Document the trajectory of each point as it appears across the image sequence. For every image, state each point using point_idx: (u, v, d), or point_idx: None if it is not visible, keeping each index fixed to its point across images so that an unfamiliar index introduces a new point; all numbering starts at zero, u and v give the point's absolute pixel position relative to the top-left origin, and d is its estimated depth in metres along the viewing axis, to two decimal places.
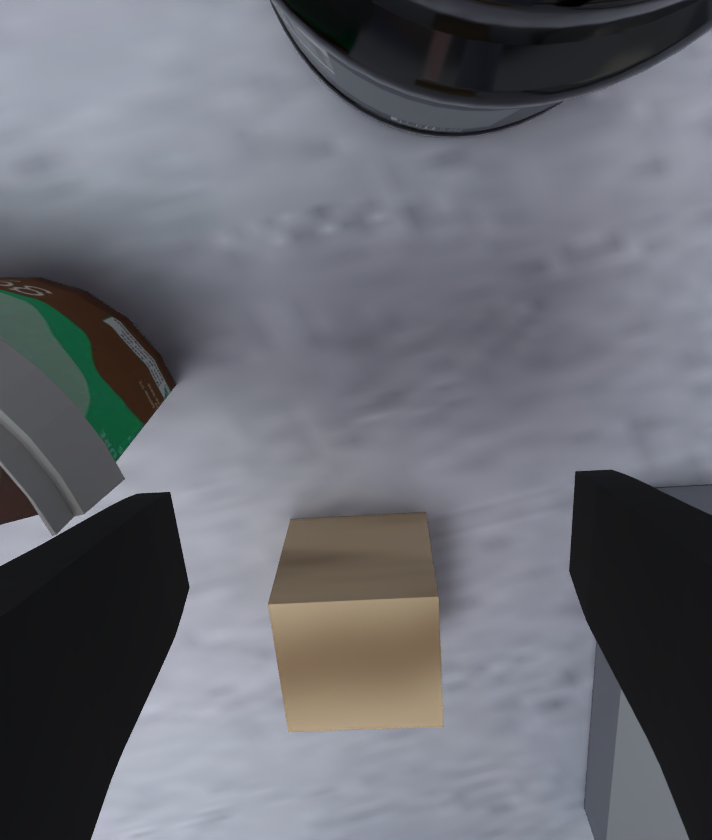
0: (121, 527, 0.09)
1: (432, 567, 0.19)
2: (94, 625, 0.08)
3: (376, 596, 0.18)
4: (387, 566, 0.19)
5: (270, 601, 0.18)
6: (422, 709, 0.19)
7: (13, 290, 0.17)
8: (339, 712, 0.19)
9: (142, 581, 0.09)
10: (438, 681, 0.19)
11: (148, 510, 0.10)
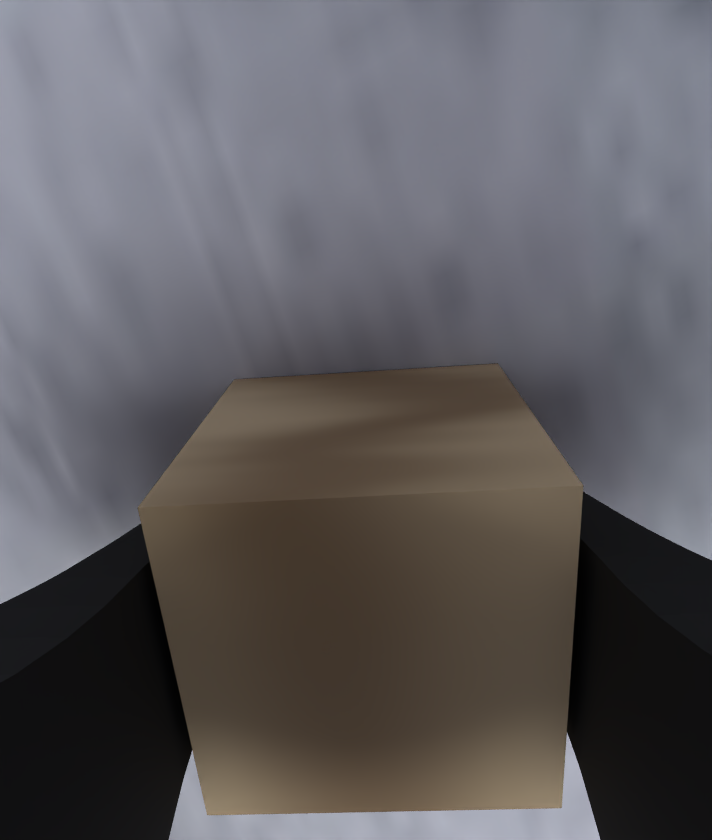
0: None
1: None
2: None
3: (169, 629, 0.08)
4: None
5: (208, 803, 0.09)
6: (511, 539, 0.07)
7: None
8: (509, 714, 0.08)
9: None
10: (414, 502, 0.07)
11: None
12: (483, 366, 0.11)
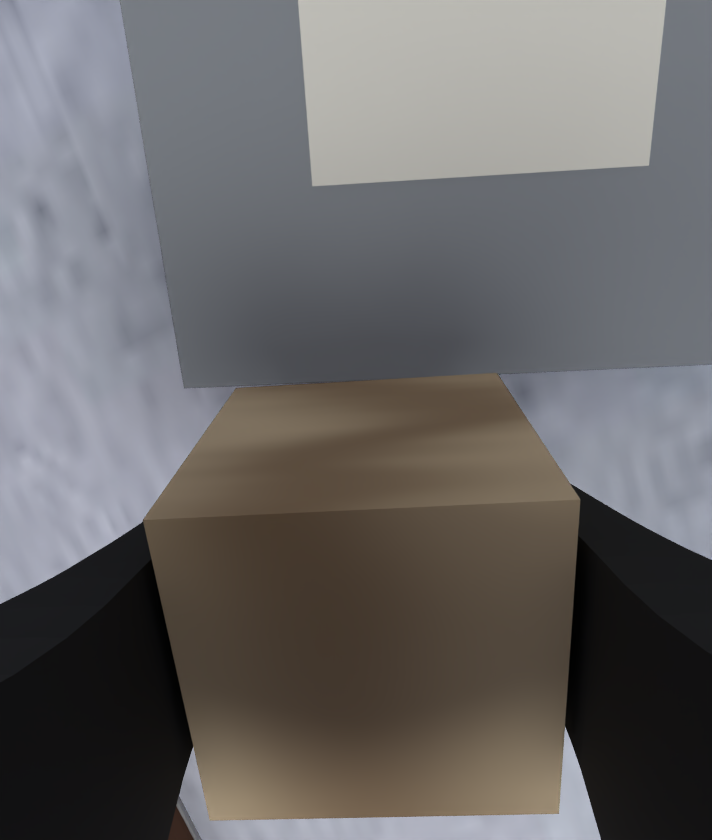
0: None
1: (180, 470, 0.08)
2: None
3: (173, 638, 0.08)
4: None
5: (211, 808, 0.09)
6: (510, 551, 0.07)
7: None
8: (507, 722, 0.08)
9: None
10: (414, 515, 0.07)
11: None
12: (482, 375, 0.11)
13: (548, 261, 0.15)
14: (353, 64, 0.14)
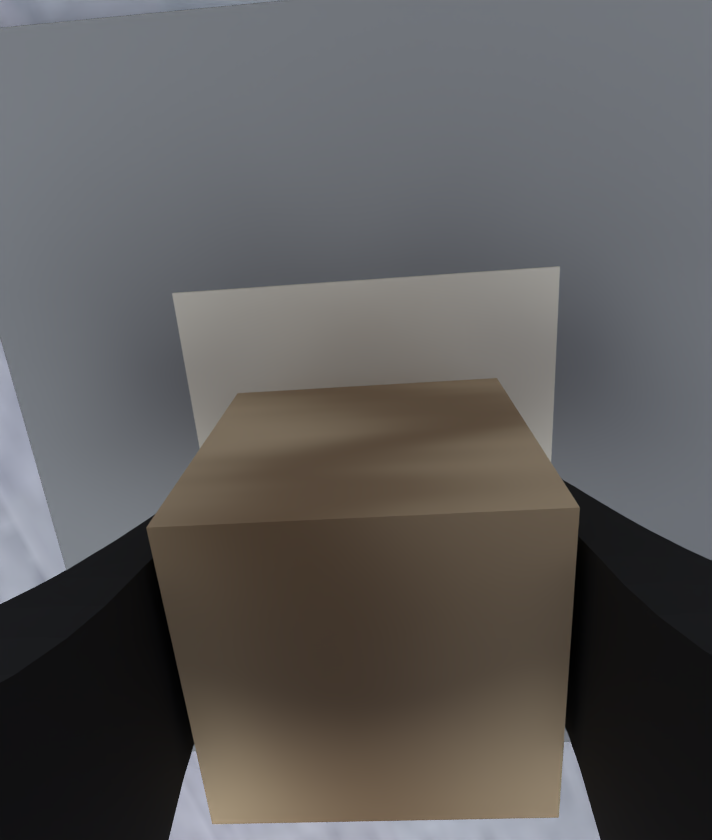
0: None
1: (183, 476, 0.08)
2: None
3: (176, 643, 0.08)
4: None
5: (213, 812, 0.09)
6: (509, 559, 0.07)
7: None
8: (507, 727, 0.08)
9: None
10: (415, 522, 0.07)
11: None
12: (482, 381, 0.11)
13: None
14: None
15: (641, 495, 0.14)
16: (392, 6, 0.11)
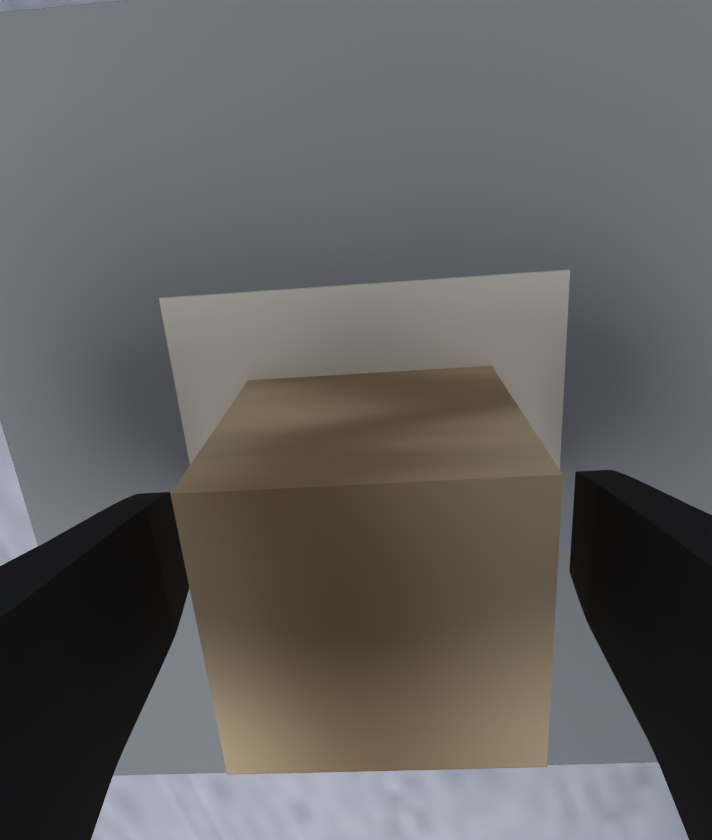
0: (121, 527, 0.09)
1: (201, 452, 0.09)
2: (94, 625, 0.08)
3: (195, 603, 0.09)
4: None
5: (228, 764, 0.10)
6: (499, 522, 0.08)
7: None
8: (499, 680, 0.09)
9: (142, 581, 0.09)
10: (414, 489, 0.08)
11: (148, 510, 0.10)
12: (478, 368, 0.12)
13: None
14: None
15: None
16: None
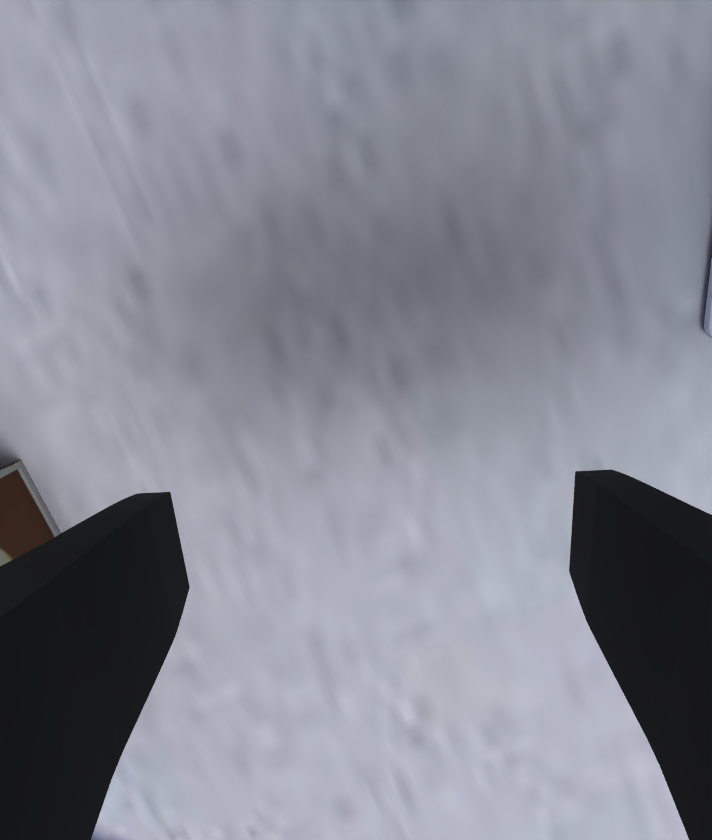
0: (121, 527, 0.09)
1: None
2: (94, 625, 0.08)
3: None
4: None
5: None
6: None
7: None
8: None
9: (142, 581, 0.09)
10: None
11: (148, 510, 0.10)
12: None
13: None
14: None
15: None
16: None
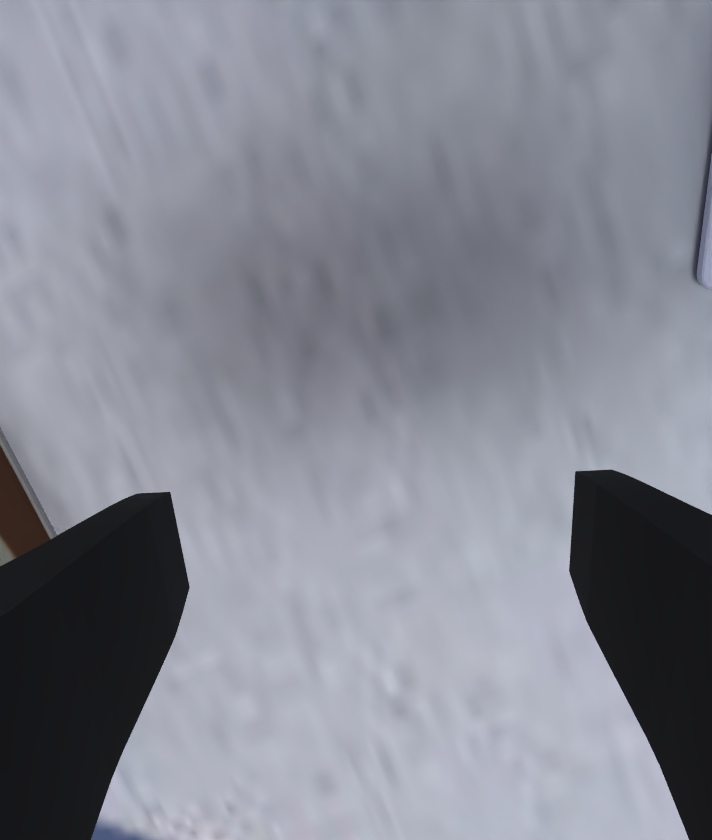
0: (121, 527, 0.09)
1: None
2: (94, 625, 0.08)
3: None
4: None
5: None
6: None
7: None
8: None
9: (142, 581, 0.09)
10: None
11: (148, 510, 0.10)
12: None
13: None
14: None
15: None
16: None
